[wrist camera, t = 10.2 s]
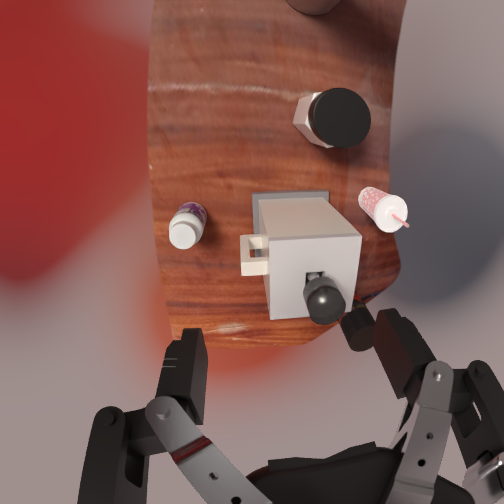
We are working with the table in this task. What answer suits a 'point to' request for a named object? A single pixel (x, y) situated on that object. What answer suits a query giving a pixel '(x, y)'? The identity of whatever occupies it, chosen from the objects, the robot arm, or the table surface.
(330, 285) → the plunger
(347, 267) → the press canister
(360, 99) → the jar
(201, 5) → the table surface
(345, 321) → the deodorant
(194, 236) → the pill bottle
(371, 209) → the beverage cup
